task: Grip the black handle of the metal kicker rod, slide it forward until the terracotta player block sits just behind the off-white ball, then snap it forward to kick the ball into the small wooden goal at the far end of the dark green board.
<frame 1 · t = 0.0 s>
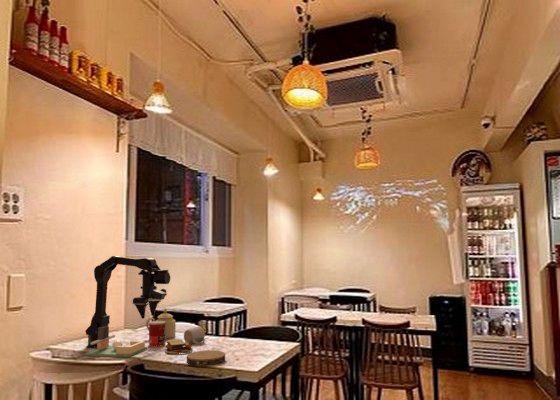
hand: (148, 316, 216), 15 cm above the table, tool pointing down, fingers open, 9 cm apart
pitch: (116, 352, 207), on the table
brown round disc: (206, 362, 188), on the table
canned food: (157, 345, 222), on the table
ceramic mug: (195, 343, 224), on the table
toy sandwich meal: (177, 352, 206), on the table
cream teapot: (162, 337, 240), on the table
ball: (117, 345, 207), point 3 cm above the table, touching pitch
kicker rod: (103, 337, 209), point 6 cm above the table, slide at 0.0 cm
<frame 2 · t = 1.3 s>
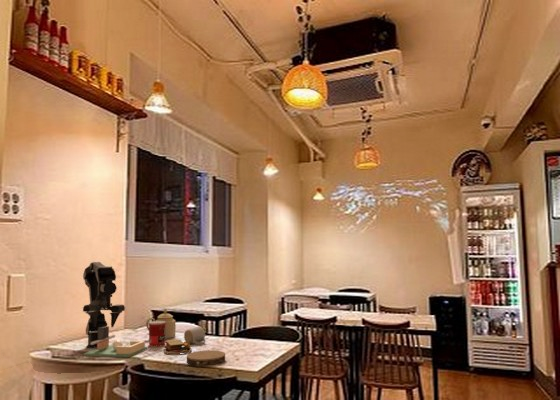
hand: (103, 326, 210), 11 cm above the table, tool pointing down, fingers open, 9 cm apart
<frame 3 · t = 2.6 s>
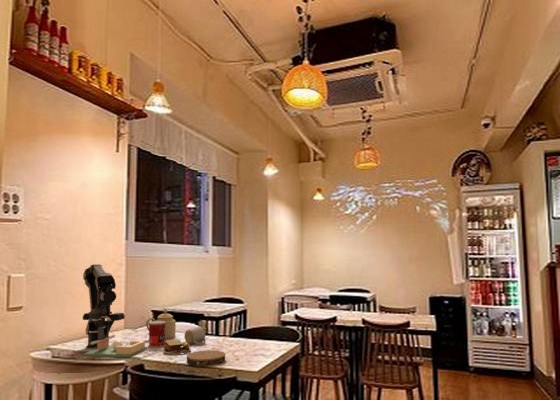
hand: (103, 335, 209), 8 cm above the table, tool pointing down, fingers closed on kicker rod, 3 cm apart
kicker rod: (103, 337, 209), point 6 cm above the table, slide at 0.0 cm, touching gripper
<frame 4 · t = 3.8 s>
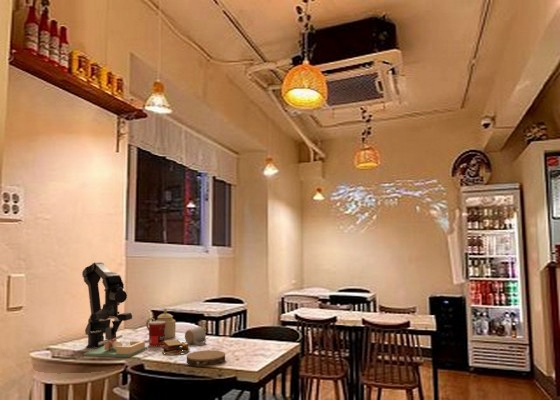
hand: (110, 335, 208), 8 cm above the table, tool pointing down, fingers closed on kicker rod, 3 cm apart
kicker rod: (110, 338, 208), point 6 cm above the table, slide at 3.9 cm, touching gripper
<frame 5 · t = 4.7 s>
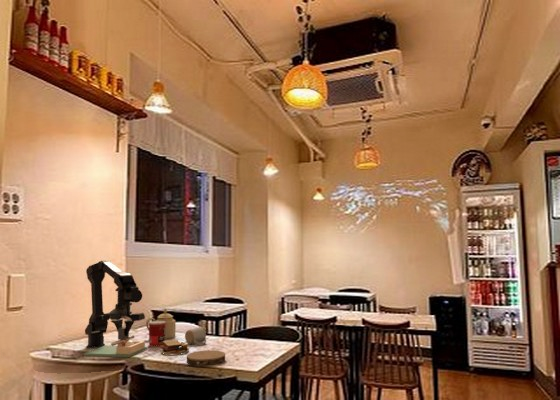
hand: (123, 335, 207), 8 cm above the table, tool pointing down, fingers closed on kicker rod, 3 cm apart
ball: (129, 345, 206), point 3 cm above the table, tilted 159°, touching pitch
kicker rod: (123, 338, 207), point 6 cm above the table, slide at 10.5 cm, touching gripper
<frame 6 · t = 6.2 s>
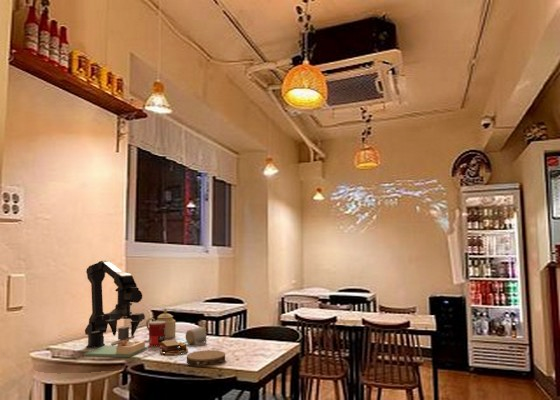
hand: (123, 335, 207), 8 cm above the table, tool pointing down, fingers open, 9 cm apart
ball: (130, 345, 206), point 3 cm above the table, tilted 173°, touching pitch
kicker rod: (123, 338, 207), point 6 cm above the table, slide at 10.5 cm
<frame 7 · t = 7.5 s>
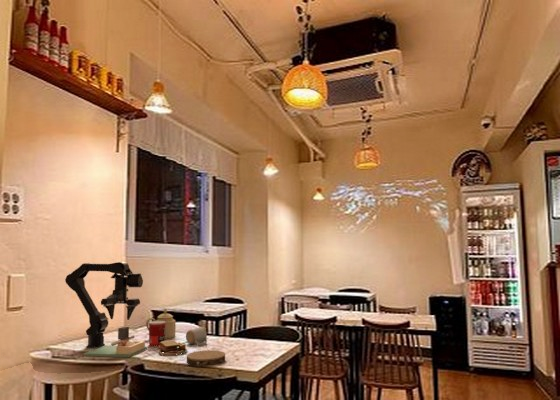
hand: (119, 319, 221), 13 cm above the table, tool pointing down, fingers open, 9 cm apart
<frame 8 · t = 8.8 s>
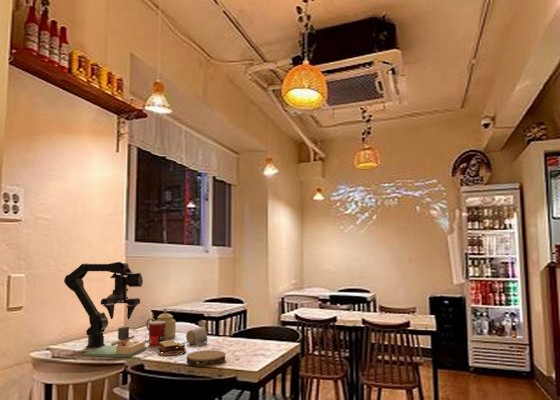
hand: (120, 319, 221), 13 cm above the table, tool pointing down, fingers open, 9 cm apart
at the end: ball inside the target area on the pitch (0.2 cm from its centre), point 3.2 cm above the pitch's base; kicker rod slide at 10.5 cm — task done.
